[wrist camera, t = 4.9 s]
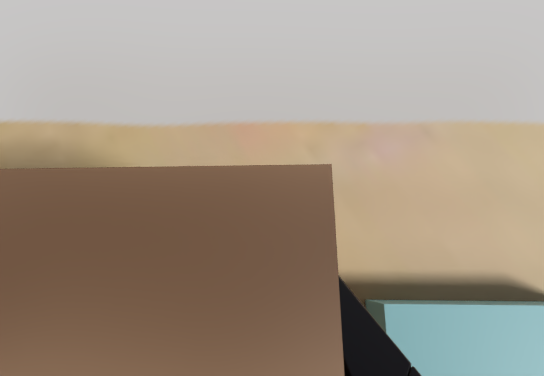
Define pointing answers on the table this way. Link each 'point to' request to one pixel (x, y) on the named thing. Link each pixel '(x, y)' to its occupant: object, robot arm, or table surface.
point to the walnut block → (169, 272)
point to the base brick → (466, 335)
